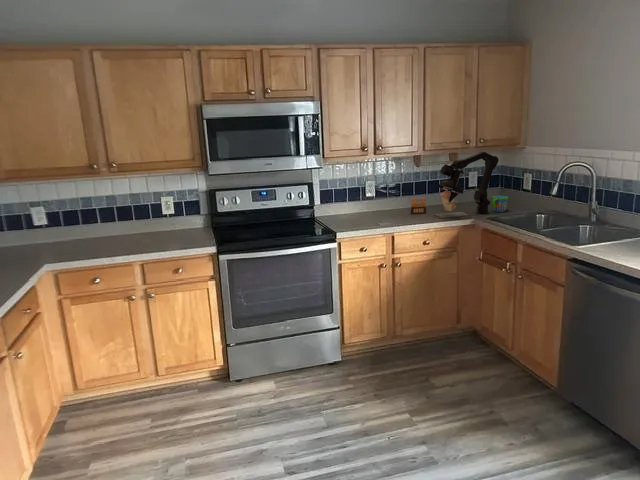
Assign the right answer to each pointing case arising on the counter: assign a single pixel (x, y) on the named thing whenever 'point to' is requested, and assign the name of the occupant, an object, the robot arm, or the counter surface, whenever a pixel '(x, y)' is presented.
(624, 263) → the counter surface
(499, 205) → the snack cup
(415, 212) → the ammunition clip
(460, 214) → the rubber mat
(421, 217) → the counter surface
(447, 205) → the birch block
